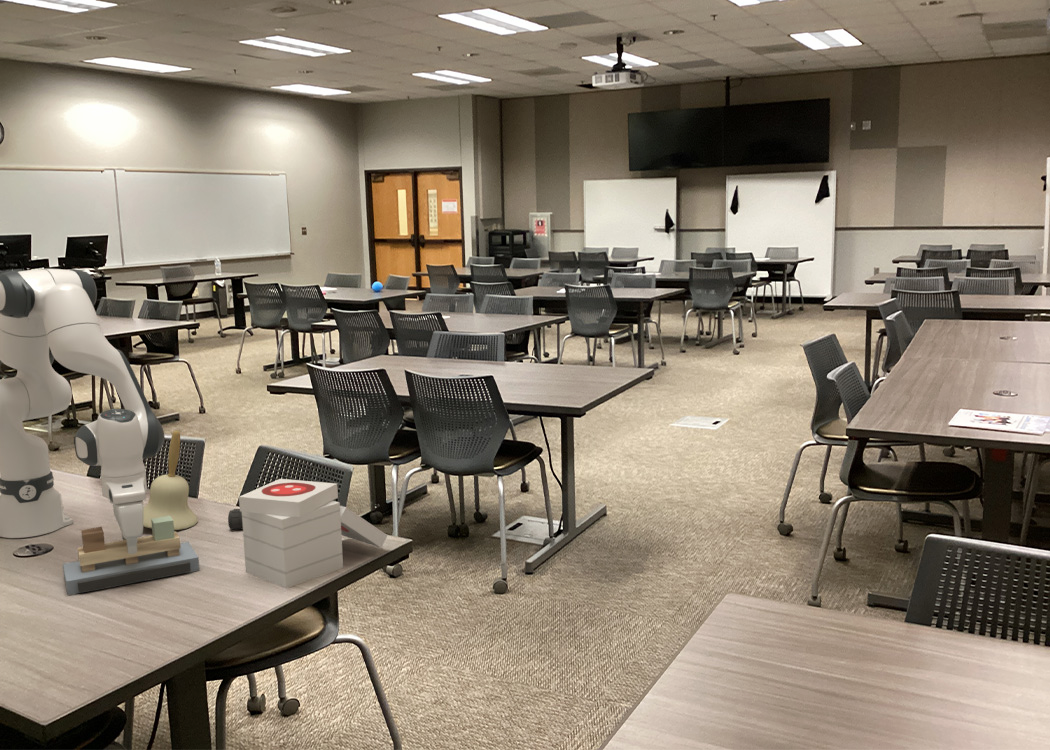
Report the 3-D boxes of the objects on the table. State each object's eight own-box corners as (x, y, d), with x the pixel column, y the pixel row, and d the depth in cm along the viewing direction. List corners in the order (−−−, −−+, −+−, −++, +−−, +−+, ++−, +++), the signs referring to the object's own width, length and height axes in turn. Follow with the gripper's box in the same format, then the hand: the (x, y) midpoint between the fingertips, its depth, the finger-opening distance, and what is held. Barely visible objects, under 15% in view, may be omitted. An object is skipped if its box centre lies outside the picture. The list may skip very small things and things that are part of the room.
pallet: (79, 565, 196) (77, 547, 195) (177, 548, 206) (175, 531, 205) (81, 573, 192) (79, 554, 191) (181, 555, 202) (179, 537, 201)
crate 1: (82, 547, 195) (81, 529, 195) (103, 544, 197) (101, 526, 197) (84, 553, 192) (82, 535, 191) (105, 549, 194) (103, 531, 193)
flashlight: (227, 533, 226) (225, 512, 225) (232, 526, 231) (231, 505, 230) (289, 530, 227) (288, 509, 226) (294, 524, 232) (292, 503, 231)
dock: (64, 576, 198) (62, 563, 197) (189, 554, 211) (188, 541, 210) (68, 596, 187) (66, 583, 186) (200, 571, 199) (199, 558, 199)
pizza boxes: (393, 553, 209) (390, 476, 206) (282, 593, 186) (277, 508, 184) (341, 536, 221) (337, 464, 218) (231, 572, 199) (225, 492, 196)
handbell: (146, 511, 240) (157, 419, 236) (204, 520, 240) (216, 428, 237) (123, 530, 224) (134, 432, 221) (185, 539, 225) (197, 442, 222)
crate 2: (152, 536, 202) (151, 518, 202) (171, 532, 204) (170, 515, 204) (155, 541, 199) (153, 523, 198) (174, 537, 201) (173, 520, 200)
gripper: (103, 476, 203) (108, 536, 206) (113, 498, 186) (119, 563, 188) (133, 472, 207) (138, 531, 209) (146, 494, 189) (152, 557, 191)
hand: (129, 546), depth 198 cm, fingers open, 8 cm apart
